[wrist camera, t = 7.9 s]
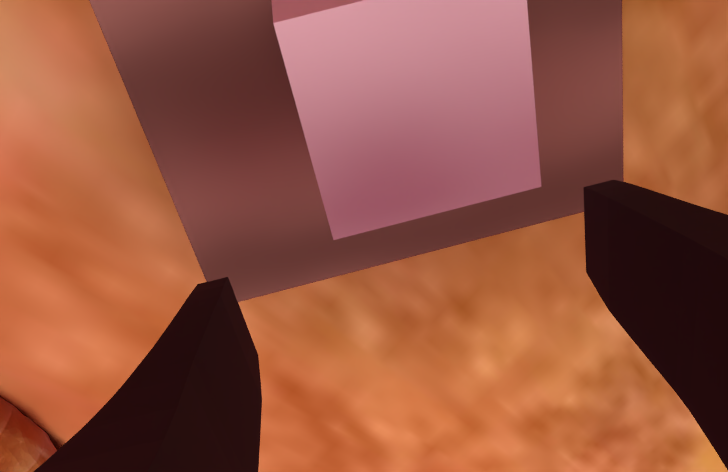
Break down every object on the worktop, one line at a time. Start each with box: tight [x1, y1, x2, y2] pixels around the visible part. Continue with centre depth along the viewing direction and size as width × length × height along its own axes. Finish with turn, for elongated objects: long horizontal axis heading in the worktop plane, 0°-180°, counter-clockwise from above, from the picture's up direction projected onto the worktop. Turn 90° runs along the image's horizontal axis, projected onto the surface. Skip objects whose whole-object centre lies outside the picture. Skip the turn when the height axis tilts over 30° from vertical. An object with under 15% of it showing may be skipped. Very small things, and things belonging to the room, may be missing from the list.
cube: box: [271, 0, 541, 240], centre depth 16 cm, size 5×5×5 cm
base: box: [89, 0, 623, 302], centre depth 19 cm, size 14×14×3 cm
